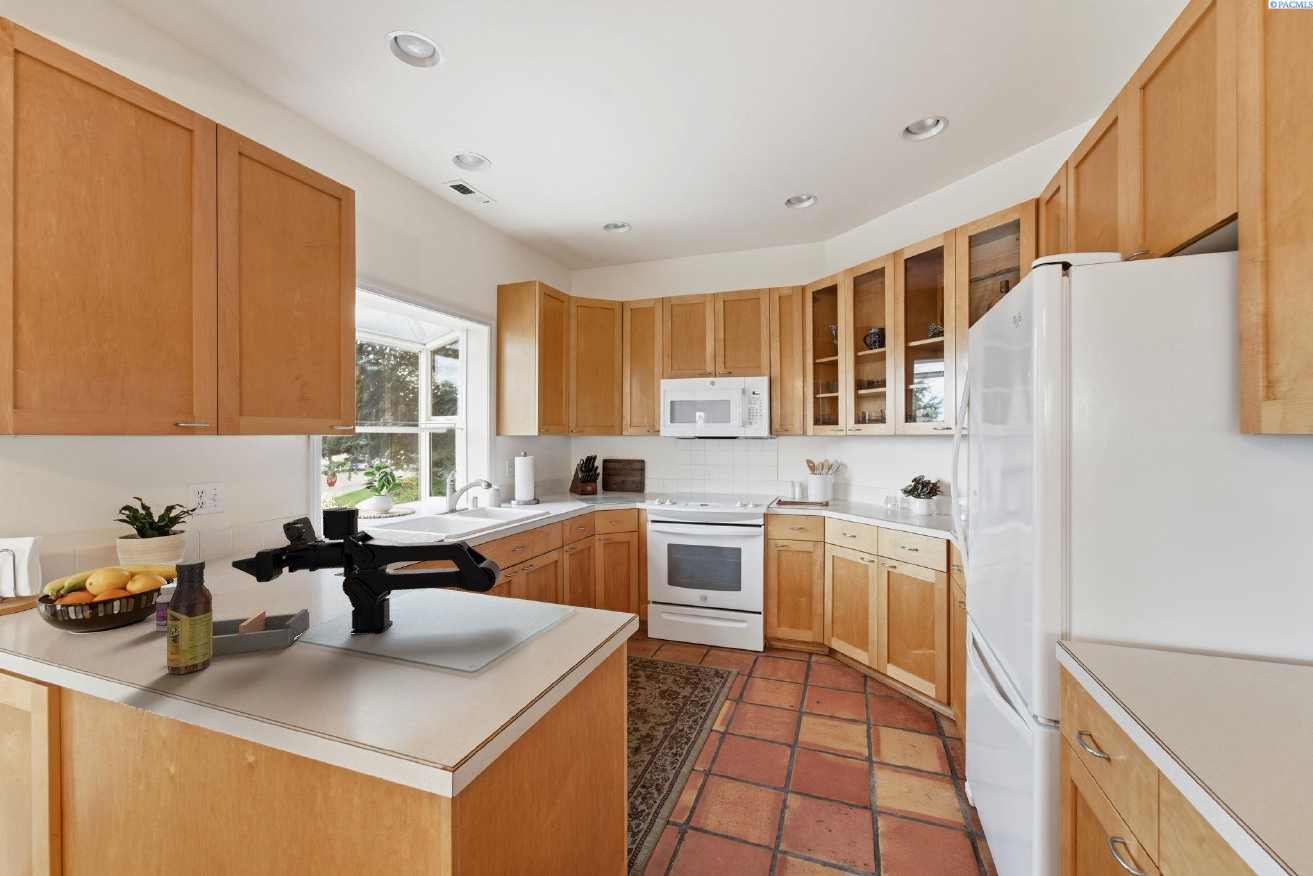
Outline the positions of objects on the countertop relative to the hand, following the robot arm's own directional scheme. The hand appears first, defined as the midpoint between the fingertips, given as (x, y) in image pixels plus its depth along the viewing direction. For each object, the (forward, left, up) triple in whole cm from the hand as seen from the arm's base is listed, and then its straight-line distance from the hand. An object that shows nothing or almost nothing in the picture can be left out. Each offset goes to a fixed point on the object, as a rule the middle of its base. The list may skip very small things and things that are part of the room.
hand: (247, 559), depth 111 cm
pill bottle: (+21, -8, -17) cm, 28 cm away
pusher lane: (-2, +4, -17) cm, 17 cm away
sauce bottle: (0, +16, -17) cm, 23 cm away
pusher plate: (-3, +4, -16) cm, 17 cm away
